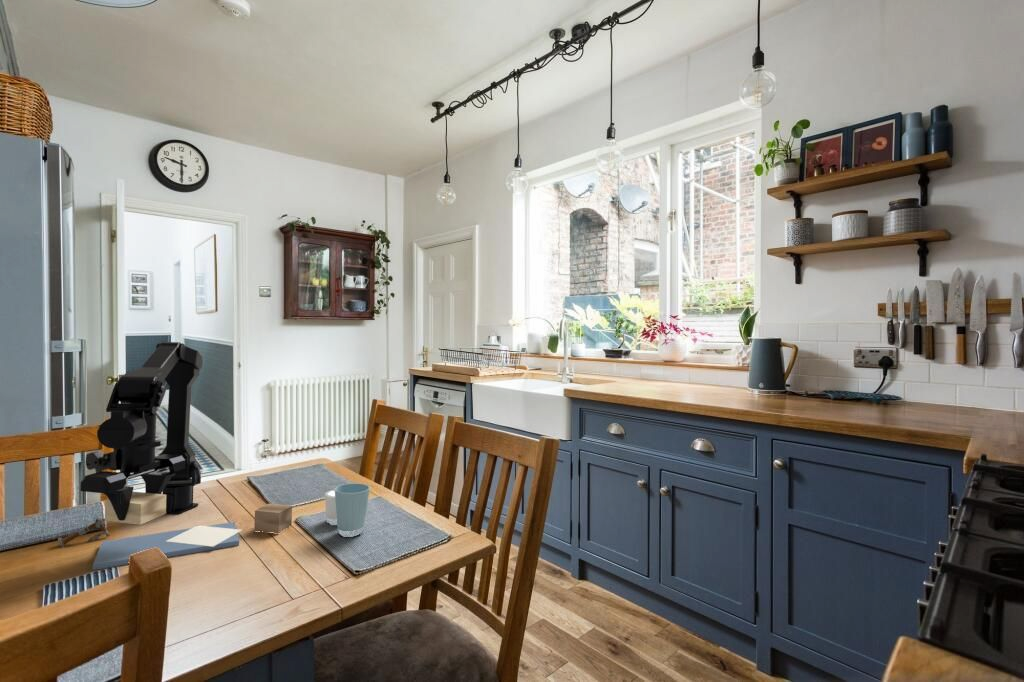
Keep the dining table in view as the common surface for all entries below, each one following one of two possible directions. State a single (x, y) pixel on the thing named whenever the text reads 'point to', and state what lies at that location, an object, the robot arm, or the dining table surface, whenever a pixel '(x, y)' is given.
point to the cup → (351, 505)
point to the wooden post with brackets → (97, 523)
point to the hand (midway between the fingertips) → (136, 514)
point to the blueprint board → (168, 543)
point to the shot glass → (330, 504)
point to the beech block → (139, 508)
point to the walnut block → (273, 518)
